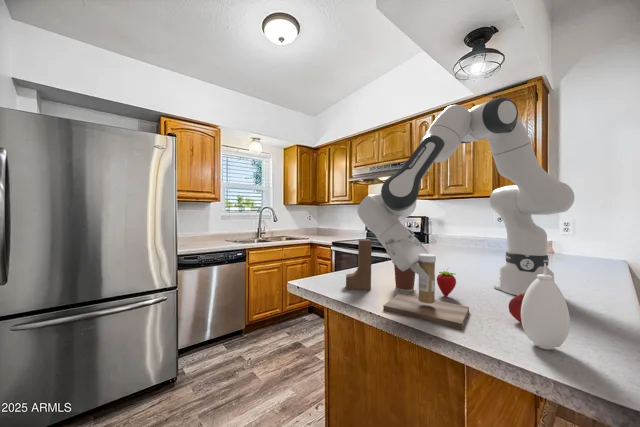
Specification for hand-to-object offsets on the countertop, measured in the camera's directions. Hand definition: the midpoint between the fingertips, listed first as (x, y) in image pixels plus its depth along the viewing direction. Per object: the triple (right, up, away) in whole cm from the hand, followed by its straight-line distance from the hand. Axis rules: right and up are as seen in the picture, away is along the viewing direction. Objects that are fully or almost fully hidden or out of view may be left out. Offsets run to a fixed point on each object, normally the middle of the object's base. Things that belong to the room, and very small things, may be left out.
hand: (429, 275), depth 74 cm
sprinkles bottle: (-1, -8, 0) cm, 8 cm away
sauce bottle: (+16, -11, -19) cm, 27 cm away
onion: (+21, -11, -7) cm, 25 cm away
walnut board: (-1, -10, 0) cm, 10 cm away
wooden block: (-17, -10, +22) cm, 30 cm away
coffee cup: (0, -10, +22) cm, 24 cm away
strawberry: (+11, -11, +14) cm, 21 cm away
